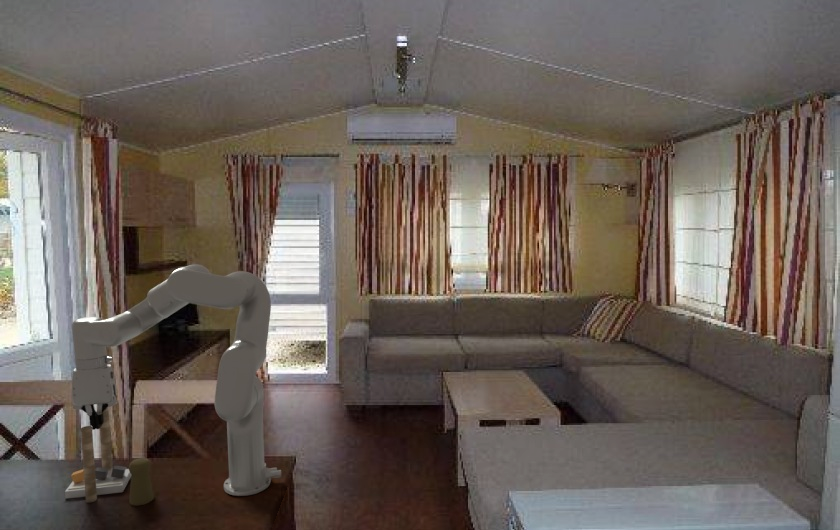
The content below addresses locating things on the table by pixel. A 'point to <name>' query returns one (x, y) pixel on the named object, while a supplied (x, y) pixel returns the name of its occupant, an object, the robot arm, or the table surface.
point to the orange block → (78, 476)
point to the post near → (88, 464)
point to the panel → (100, 486)
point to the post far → (106, 442)
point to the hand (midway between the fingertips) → (97, 427)
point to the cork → (140, 482)
